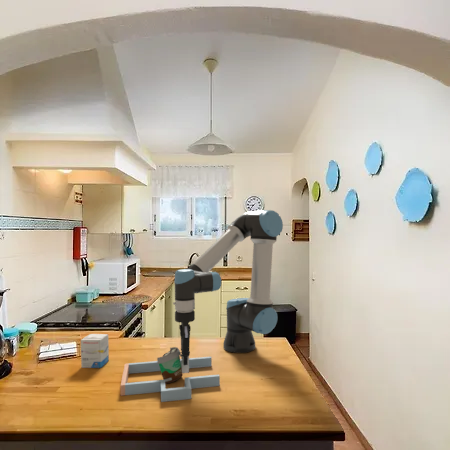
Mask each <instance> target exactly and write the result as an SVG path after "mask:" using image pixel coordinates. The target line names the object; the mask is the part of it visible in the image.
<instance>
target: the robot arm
mask: <svg viewBox="0 0 450 450" xmlns="http://www.w3.org/2000/svg"><path fill="white" fill-rule="evenodd" d="M283 227H284V224H283V219H282V217H281V215H279V213H278V212H277V211H275V210H271V209H262V210H248V211H246V212H244V213H242V214H241V215H239V216H238V217H237V218H236V219H234V220H233V221H232V222H231V223H230V224H229V225H228V226H227V230H226V231H225V232H224V233H223V234H222V235H221V236H220V237H219V238H217V240H216V241H215V242H214V243H213V244H211V245H210V247H208V248H207V249H206V250H205V251H204V252H203V254H201V255H200V256H199V257H198V258H197V259H196V260H195V261H194V262H193V263H192V264H191V265H189V267H188V268H183V269H177V270H176V271H175V273H174V282H173V283H174V302H172V304H173V305H174V310H175V311H174V321H175V322H177V323H180V324H179V327H178V328H179V335H180V352H181V354H180V357H181V358H180V359H181V368H182V374H187V373H188V374H189V373H190V368H189V358H190V354H191V351H190V341H191V340H190V338H191V325H190V324H189V323H191V322H194V321H195V319H196V318H195V316H196V315H195V309H196V307H195V306H196V305H195V304H196V303H195V302H196V301H195V300H196V299H195V294H202V293H210V292H216V291H218V290H219V289H221V287H222V277H221V275H220V274H219V272H216V271H214V272H213V271H211V270H212V269H214V267H216V265H217V264H219V262H221V260H222V259H224V257H225V256H226V255H228V253H229V252H230V251H231V250H233V248H234V247H235V246H236V245H238V243H241V242H243V241H244V240H245V239H246V238H248V237H250V240H251V242H252V243H253V246H252V247H253V250H252V262H251V263H252V265H251V281H250V295H249V297H238V298H231V299H229V300H227V303H226V334H225V337H224V340H223V349H224V350H225V351H226V352H229V353H234V354H235V353H236V354H242V353H243V354H245V353H250V352H253V351H254V350H255V349H256V340H255V338H254V334H253V332H254V333H256V334H261V335H267V334H269V333H271V332H273V329H275V327H276V325H277V323H278V312H276V309H274V307H273V304H274V303H273V300H271V295H270V294H271V280H272V265H273V263H272V262H273V249H274V248H273V246H274V244H275V243H276V242H277V239H278V238H277V237H278V236H280V235H281V233H282V232H283V229H284V228H283Z"/></svg>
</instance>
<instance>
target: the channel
mask: <svg viewBox="0 0 450 450" xmlns="http://www.w3.org/2000/svg"><path fill="white" fill-rule="evenodd" d="M212 360H213V359H212V356H203V357H199V356H198V357H189V369H195V368H208V367H212ZM180 362H181V358H180ZM153 372H161V370H160V366H159V364H158V362H157V360H152V361H143V362H142V361H141V362H130V363H129V362H128V363H124V368H123V372H122V377H121V381H120V382H121V383H120V397H121V396H131V395H132V396H133V395H140V394H142V395H143V394H151V393H153V394H154V393H160V402H161V403H163V402H173V401H182V400H191V399H192V389H200V388H201V389H202V388H212V387H213V388H214V387H220V385H221V384H220V383H221V382H220V380H221V379H220V378H221V377H220V374H210V375H209V374H208V375H198V376H190V377H187V376H186V377H184V386H180V387H170V388H169V387H168V388H166V384H165V380H163V379H157V380H156V379H155V380H145V381H144V380H143V381H135V382H128V381H129V375H130V374H139V373H141V374H142V373H153Z"/></svg>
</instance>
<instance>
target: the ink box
mask: <svg viewBox="0 0 450 450" xmlns="http://www.w3.org/2000/svg"><path fill="white" fill-rule="evenodd" d="M109 353H110V352H109V334H106V333H105V334H104V333H103V334H102V333H90V334H88V335H86V336H84V337H83V338H82V339H80V355H81V356H80V357H81V359H80V361H81V368H85V369H87V368H89V369H91V368H93V369H96V368H97V369H101V368H103V367H104V366H105V365H106V364H107V363H108V362H109Z"/></svg>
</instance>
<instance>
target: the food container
mask: <svg viewBox="0 0 450 450" xmlns="http://www.w3.org/2000/svg"><path fill="white" fill-rule="evenodd" d="M181 352H182V351H181V349H180V348H179V347H176V346H175V347H174V346H173V347H169V351H168V352H165V353H164V354H163V355H162V356H160V357H156V361H157V362H158V364H159V366H160V370H161V371H160V374H161V376H162V380H165V385H167V384H170V383H173V382H176V381H178V380H179V379H181V378H182V377H183V376H184V375H183V374H184V373H182V368H181V362H180V359H181V358H180V354H182V353H181Z"/></svg>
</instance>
